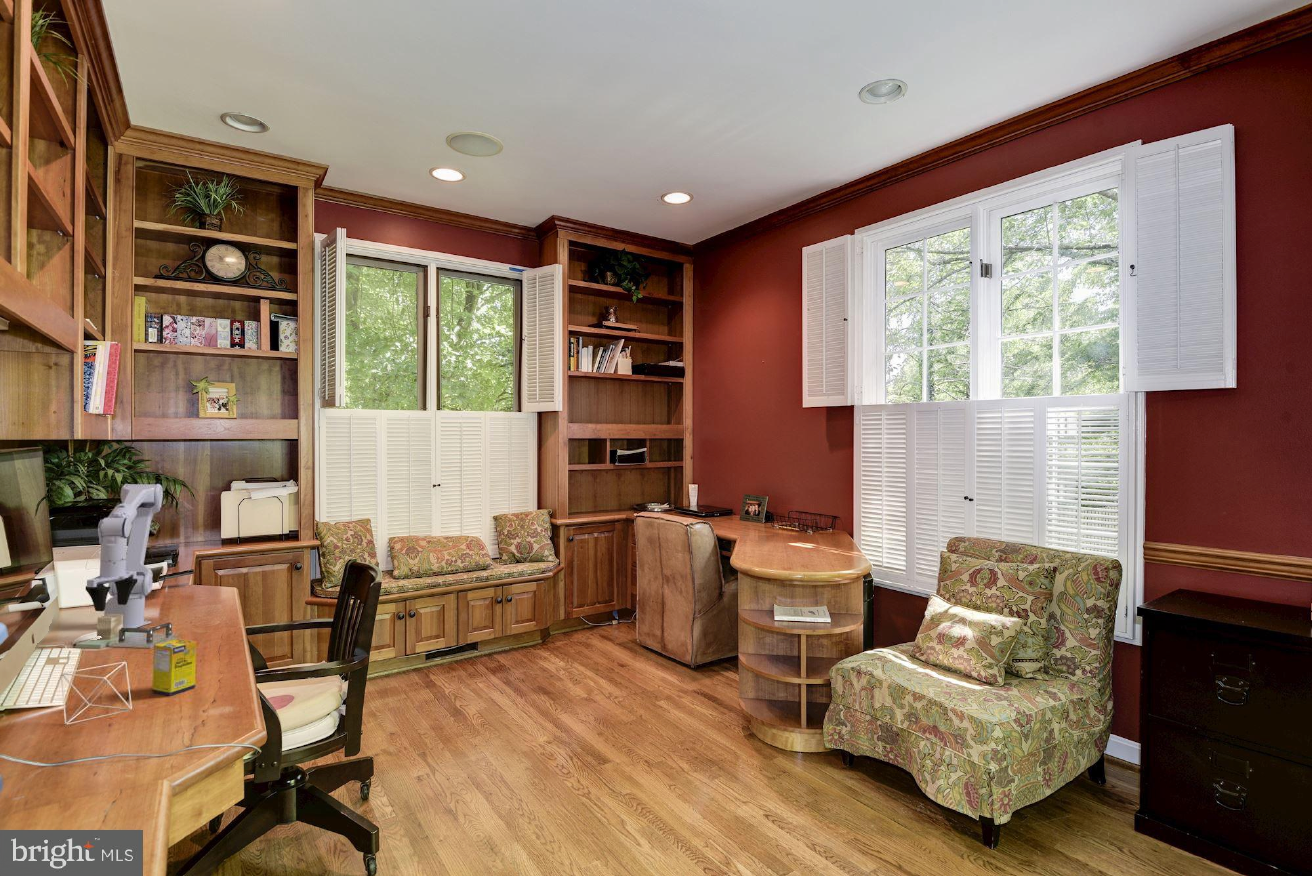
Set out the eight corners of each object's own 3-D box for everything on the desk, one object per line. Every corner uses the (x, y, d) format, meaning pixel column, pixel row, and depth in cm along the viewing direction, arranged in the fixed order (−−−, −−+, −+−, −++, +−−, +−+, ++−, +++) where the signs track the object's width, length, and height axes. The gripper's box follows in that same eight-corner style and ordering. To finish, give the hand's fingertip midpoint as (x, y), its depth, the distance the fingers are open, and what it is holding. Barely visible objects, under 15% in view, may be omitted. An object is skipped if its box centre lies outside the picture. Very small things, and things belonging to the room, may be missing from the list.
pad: (75, 647, 184) (75, 643, 184) (118, 633, 198) (118, 630, 198) (100, 648, 183) (100, 644, 184) (141, 634, 197) (141, 631, 198)
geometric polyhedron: (141, 701, 148) (143, 659, 149) (121, 720, 138) (122, 675, 138) (72, 707, 144) (73, 664, 144) (45, 727, 134) (47, 681, 134)
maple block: (110, 639, 189) (111, 618, 189) (96, 639, 189) (97, 617, 189) (122, 635, 193) (123, 614, 193) (108, 635, 193) (109, 614, 193)
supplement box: (195, 688, 157) (197, 641, 157) (169, 696, 151) (171, 647, 151) (177, 684, 159) (179, 638, 159) (151, 692, 153) (153, 644, 153)
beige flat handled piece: (108, 646, 185) (109, 629, 186) (137, 636, 195) (138, 620, 196) (150, 648, 185) (151, 630, 185) (177, 638, 195) (178, 621, 195)
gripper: (105, 564, 184) (103, 614, 183) (147, 556, 198) (145, 602, 198) (80, 563, 184) (78, 613, 184) (124, 555, 198) (122, 601, 198)
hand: (111, 607), depth 191 cm, fingers open, 7 cm apart
